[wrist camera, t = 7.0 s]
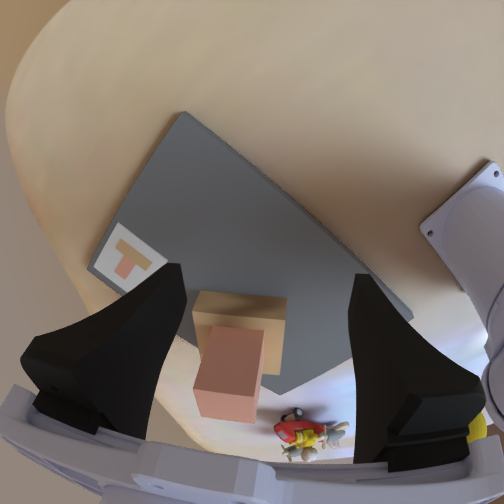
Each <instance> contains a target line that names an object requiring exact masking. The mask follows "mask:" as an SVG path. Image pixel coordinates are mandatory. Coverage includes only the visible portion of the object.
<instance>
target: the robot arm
mask: <svg viewBox="0 0 504 504" xmlns="http://www.w3.org/2000/svg"><path fill="white" fill-rule="evenodd" d="M495 171H496V174H495V175H494V172H495ZM430 230H432V232H431V233H430V234H428V232H429V231H430ZM420 231H421V232H422V234H423V235H424V236H425V238H426V239H427V240H428V241H429V243H430V244H431V245H432V247H433V248H434V249H435V251H436V252H437V253H438V255H439V256H440V257H441V259H442V260H443V261H444V263H445V264H446V265H447V267H448V268H449V269H450V271H451V272H452V274H453V275H454V276H455V278H456V279H457V281H458V282H459V283H460V285H461V286H462V288H463V289H464V291H465V292H466V294H467V295H468V296H469V297H470V299H471V301H472V303H473V305H474V307H475V309H476V310H477V312H478V314H479V316H480V318H481V320H482V322H483V325H484V327H485V329H486V331H487V333H488V340H487V342H486V344H485V345H484V348H485V351H486V353H487V355H488V358H489V360H490V362H489V363H488V364H487V366H486V367H485V369H484V371H483V374H482V378H481V380H480V378H479V377H478V376H477V375H475V374H473V373H471V372H470V371H468V370H466V369H464V368H463V367H461V366H459V365H458V364H456V363H455V362H453V361H452V360H450V359H449V358H447V357H446V356H445V355H443V354H442V353H441V352H439V351H438V350H437V349H436V348H435V347H433V346H432V345H431V344H430V343H429V342H427V341H426V340H425V339H424V338H423V337H422V336H421V335H420V334H419V333H418V332H417V331H416V330H415V329H414V328H413V327H412V326H411V325H410V324H409V323H408V322H407V321H406V320H405V319H404V318H403V316H402V315H401V314H400V313H399V312H398V311H397V309H396V308H395V307H394V306H393V304H392V303H391V302H390V300H389V299H388V298H387V296H386V295H385V294H384V292H383V291H382V290H381V288H380V287H379V286H378V284H377V283H376V281H375V280H374V279H373V277H372V276H371V275H370V274H358V273H355V278H354V283H353V288H352V293H351V298H350V302H349V307H348V333H349V339H350V345H351V352H352V358H353V365H354V371H355V379H356V434H355V450H354V460H353V464H293V463H277V462H265V461H259V460H256V459H250V458H245V457H240V456H233V455H226V454H219V453H213V452H207V451H201V450H195V449H190V448H185V447H180V446H176V445H171V444H167V443H161V442H154V441H146V440H145V438H146V431H147V425H148V420H149V415H150V410H151V406H152V401H153V397H154V393H155V389H156V386H157V382H158V379H159V375H160V372H161V368H162V366H163V363H164V360H165V358H166V356H167V353H168V351H169V349H170V347H171V344H172V342H173V340H174V337H175V335H176V333H177V331H178V328H179V326H180V324H181V321H182V318H183V315H184V312H185V308H186V304H187V295H186V290H185V285H184V280H183V275H182V269H181V264H180V263H166V264H165V265H163V266H162V267H160V268H159V269H158V270H157V271H155V272H154V273H153V274H152V275H150V276H149V277H148V278H146V279H145V280H144V281H143V282H141V283H140V284H139V285H137V286H136V287H135V288H134V289H132V290H131V291H129V292H128V293H127V294H125V295H124V296H122V297H121V298H120V299H118V300H117V301H115V302H114V303H112V304H111V305H109V306H107V307H106V308H104V309H102V310H101V311H99V312H97V313H95V314H93V315H91V316H89V317H87V318H85V319H83V320H81V321H79V322H77V323H74V324H72V325H70V326H67V327H65V328H62V329H59V330H56V331H54V332H50V333H47V334H43V335H40V336H36V337H34V339H33V340H32V342H31V343H30V345H29V346H28V347H27V349H26V350H25V352H24V353H23V355H22V356H21V358H20V362H21V365H22V367H23V369H24V371H25V372H26V374H27V375H28V376H29V378H30V379H31V380H32V381H33V383H34V384H35V385H36V386H37V388H38V389H39V390H40V391H39V393H38V395H37V396H36V395H35V394H34V393H32V392H31V391H29V390H27V389H25V388H22V387H20V386H18V385H16V384H14V385H13V387H12V388H11V390H10V392H9V393H8V395H7V397H6V398H5V400H4V402H3V403H2V405H1V407H0V437H1V438H3V439H4V440H5V441H6V442H7V443H9V444H10V445H11V446H12V447H13V448H15V449H16V450H17V451H18V452H20V453H21V454H22V455H24V456H26V457H27V458H29V459H31V460H32V461H34V462H36V463H37V464H39V465H41V466H42V467H44V468H46V469H48V470H50V471H51V472H53V473H55V474H57V475H59V476H61V477H62V478H65V479H66V480H68V481H70V482H72V483H74V484H76V485H78V486H80V487H82V488H84V489H87V490H89V491H91V492H93V493H95V494H97V495H100V496H102V499H101V502H100V504H487V503H489V502H491V501H493V500H495V499H497V498H498V497H500V496H502V495H504V456H503V451H502V447H501V443H500V439H499V435H493V436H490V437H485V438H481V439H477V440H474V441H472V442H470V443H468V442H467V437H466V436H468V435H469V434H470V430H469V426H468V425H469V424H470V423H471V422H472V421H473V420H474V419H475V418H476V416H477V415H478V414H479V413H480V412H481V411H482V409H483V408H484V406H485V408H486V410H487V412H488V414H489V416H490V417H491V419H492V420H493V422H494V423H495V424H496V425H497V426H498V427H499V428H500V429H501V430H502V431H503V432H504V176H503V174H502V172H501V170H500V168H499V166H498V165H497V163H496V162H494V161H489V162H488V163H487V164H486V165H485V166H484V167H483V168H482V169H481V170H480V171H479V172H478V173H477V174H476V175H475V176H473V177H472V178H471V179H470V180H469V181H468V182H467V183H466V184H465V185H464V186H463V187H462V188H461V189H459V190H458V191H457V192H456V193H455V194H454V195H453V196H452V197H451V198H450V199H448V200H447V201H446V202H445V203H444V204H443V205H442V206H441V207H439V208H438V209H437V210H436V211H435V212H434V213H433V214H431V215H430V216H429V217H428V218H427V219H426V220H425V221H423V222H422V223H421V225H420Z"/></svg>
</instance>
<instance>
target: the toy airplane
mask: <svg viewBox="0 0 504 504" xmlns="http://www.w3.org/2000/svg"><path fill="white" fill-rule="evenodd" d="M302 417H303V410H302V409H300V408H296V409H294V411H293V413H292V414H290V415H288V416H285V415H283V416H282V417H281V419H280V421H281V422H279V423H278V424H276V425H275V426H274V431H275V432H276V434H277V435H278V436H279V437H280V439H282V440H283V441H284V442H286V443H289V444H290V445H293V444H295V445H293V446H290V447H288V448H284V446H283V445H281V446H282V448H283V449H284V452H283V453H282V454H283V455H284V456H287V457H288V459H289V461H290V462H291V461H292V459H291V457H296V456H299V455H301V458H302V459H303V460H304V461H306V462H311V461H314V460H315V459H316V458H317V455H318V453H317V450H316V449H315V448H312V446H313V445H314V444H315V443H316V442H322V443H323V444H322V448H323V449H325V448H326V443H327V444H328V445H329V446H330V447H331V448H333V449H335V448H339V447H340V445H339V441H338V439H339V438H341V437H342V436H343V435H344V434H345V431H344V430H345V428H347V427H349V426H350V425H349V423H348V422H342V423H340V424H338V425H336V426H334V425H329V426H326V425H325V424H324V426H320V425H318V424H314V423H312V422H309V421H306V420H300V418H302Z"/></svg>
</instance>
